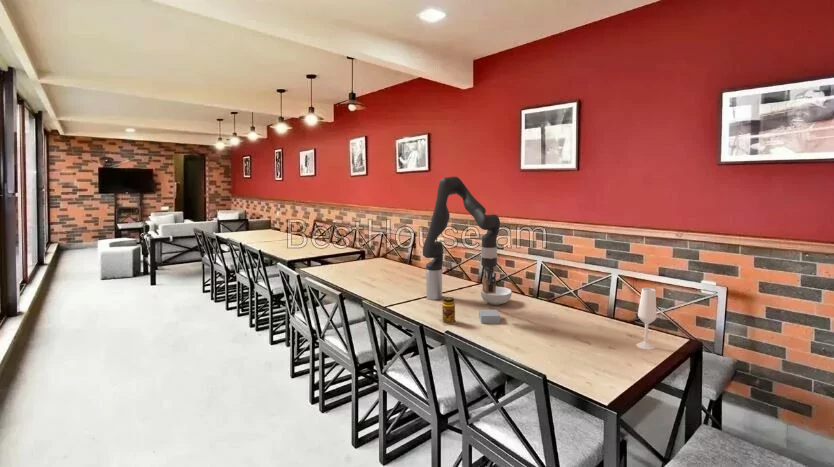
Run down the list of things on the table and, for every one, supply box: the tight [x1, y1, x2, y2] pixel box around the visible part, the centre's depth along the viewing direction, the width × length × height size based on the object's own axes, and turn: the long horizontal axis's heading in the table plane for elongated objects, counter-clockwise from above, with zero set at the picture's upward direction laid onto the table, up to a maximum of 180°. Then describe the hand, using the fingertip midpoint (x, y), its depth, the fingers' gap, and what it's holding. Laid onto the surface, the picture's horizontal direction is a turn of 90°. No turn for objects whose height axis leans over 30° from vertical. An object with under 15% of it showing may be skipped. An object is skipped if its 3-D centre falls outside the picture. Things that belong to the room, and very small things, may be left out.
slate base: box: [478, 309, 501, 324], centre depth 205 cm, size 9×9×4 cm
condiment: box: [438, 296, 459, 326], centre depth 204 cm, size 7×8×12 cm
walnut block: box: [482, 276, 497, 294], centre depth 203 cm, size 5×5×7 cm
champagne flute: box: [635, 287, 658, 351], centre depth 169 cm, size 7×7×24 cm
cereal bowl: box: [480, 286, 512, 306], centre depth 232 cm, size 17×17×7 cm
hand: (489, 290), depth 203 cm, fingers closed on walnut block, 5 cm apart
